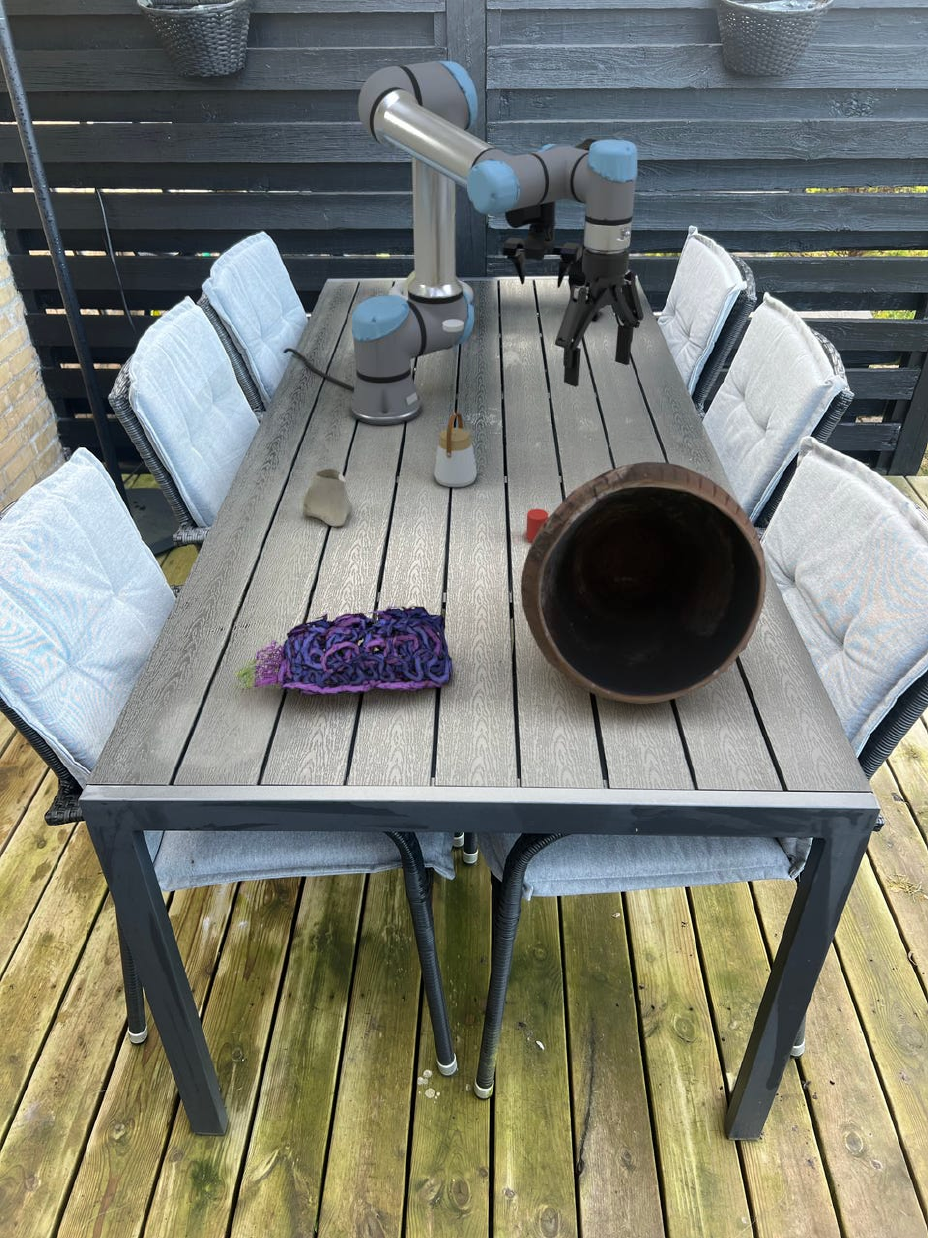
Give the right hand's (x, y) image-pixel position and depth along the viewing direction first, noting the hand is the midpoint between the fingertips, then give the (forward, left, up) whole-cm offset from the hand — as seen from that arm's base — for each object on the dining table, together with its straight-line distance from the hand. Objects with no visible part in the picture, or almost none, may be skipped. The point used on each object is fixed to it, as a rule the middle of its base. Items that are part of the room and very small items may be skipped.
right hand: (540, 285), depth 229 cm
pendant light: (+76, +8, -13) cm, 78 cm away
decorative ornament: (+137, +16, -13) cm, 139 cm away
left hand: (+69, +32, +9) cm, 76 cm away
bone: (+98, -8, -13) cm, 99 cm away
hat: (+2, -29, -13) cm, 32 cm away
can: (+91, +29, -13) cm, 96 cm away
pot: (+114, +51, -13) cm, 126 cm away
